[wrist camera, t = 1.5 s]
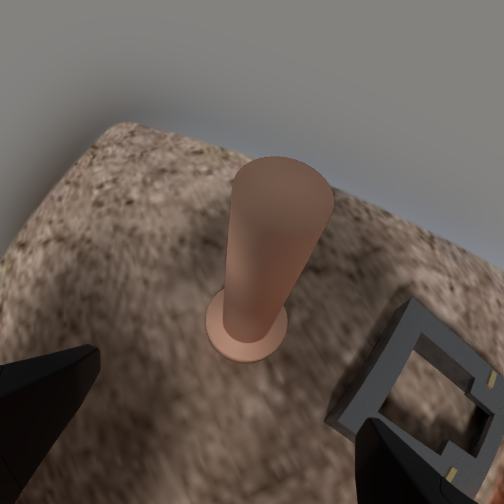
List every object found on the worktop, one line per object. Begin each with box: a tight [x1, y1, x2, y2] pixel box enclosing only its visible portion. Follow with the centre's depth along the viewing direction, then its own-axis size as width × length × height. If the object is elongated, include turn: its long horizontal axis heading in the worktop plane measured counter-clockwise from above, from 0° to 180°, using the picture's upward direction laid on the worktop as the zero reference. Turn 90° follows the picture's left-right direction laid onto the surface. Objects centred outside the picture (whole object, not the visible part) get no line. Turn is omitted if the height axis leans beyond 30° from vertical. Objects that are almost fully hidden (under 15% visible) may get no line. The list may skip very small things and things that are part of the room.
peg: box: [206, 157, 334, 363], centre depth 17 cm, size 6×6×15 cm
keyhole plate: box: [324, 297, 504, 500], centre depth 19 cm, size 17×12×3 cm
